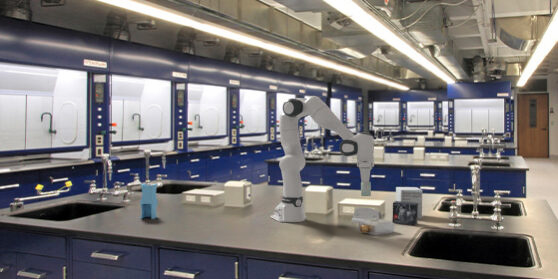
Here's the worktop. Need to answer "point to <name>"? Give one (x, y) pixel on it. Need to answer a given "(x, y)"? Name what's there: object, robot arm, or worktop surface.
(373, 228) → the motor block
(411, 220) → the small box
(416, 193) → the supplement box
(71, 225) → the worktop surface
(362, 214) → the hinge
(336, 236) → the worktop surface
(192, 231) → the worktop surface
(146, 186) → the blue tower block
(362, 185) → the pump canister
